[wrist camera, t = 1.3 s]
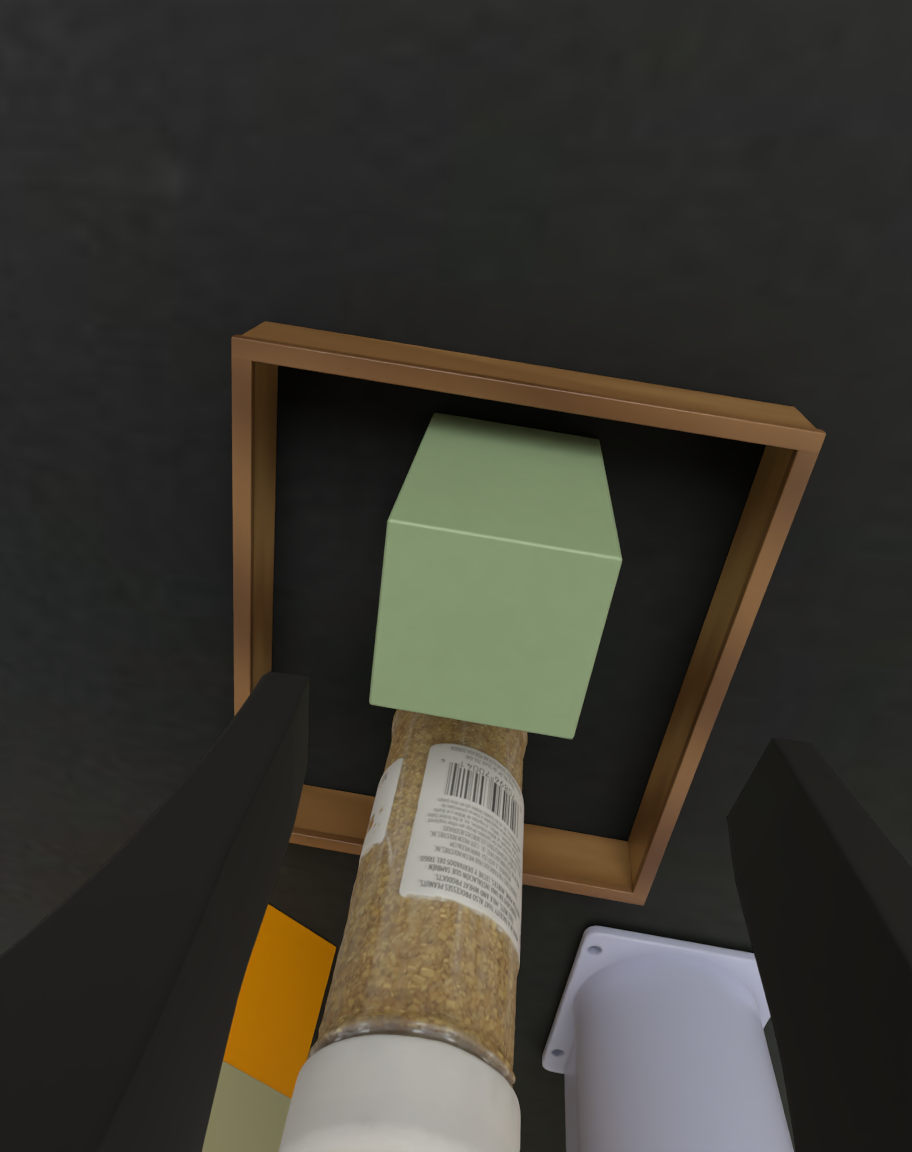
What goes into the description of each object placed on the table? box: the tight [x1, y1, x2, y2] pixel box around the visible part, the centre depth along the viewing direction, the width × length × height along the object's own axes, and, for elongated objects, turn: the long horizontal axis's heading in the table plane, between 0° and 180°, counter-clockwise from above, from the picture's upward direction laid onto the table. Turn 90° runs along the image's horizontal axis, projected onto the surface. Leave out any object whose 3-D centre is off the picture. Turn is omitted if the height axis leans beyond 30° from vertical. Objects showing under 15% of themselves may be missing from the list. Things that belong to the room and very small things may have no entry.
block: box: [369, 413, 622, 739], centre depth 19 cm, size 4×4×7 cm
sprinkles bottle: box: [279, 709, 528, 1152], centre depth 20 cm, size 5×5×13 cm
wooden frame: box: [231, 321, 826, 905], centre depth 23 cm, size 16×14×2 cm
